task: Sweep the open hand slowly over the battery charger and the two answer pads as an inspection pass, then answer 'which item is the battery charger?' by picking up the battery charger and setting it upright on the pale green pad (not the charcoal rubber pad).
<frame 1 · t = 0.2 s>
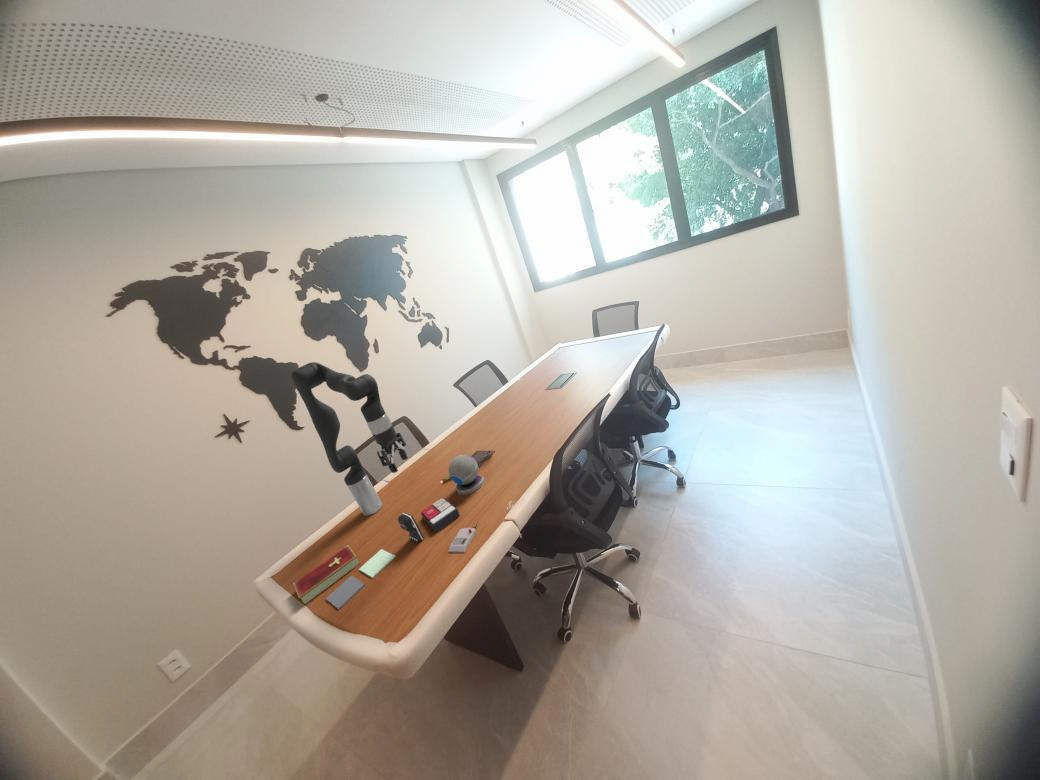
hand: (400, 465, 140), 28 cm above the table, fingers open, 8 cm apart
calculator: (441, 517, 152), on the table
pad A green: (377, 563, 138), on the table
pad B charcoal: (345, 592, 129), on the table
webcam: (470, 485, 167), on the table
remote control: (465, 540, 134), on the table
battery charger: (416, 540, 143), on the table
hardcover book: (330, 577, 140), on the table
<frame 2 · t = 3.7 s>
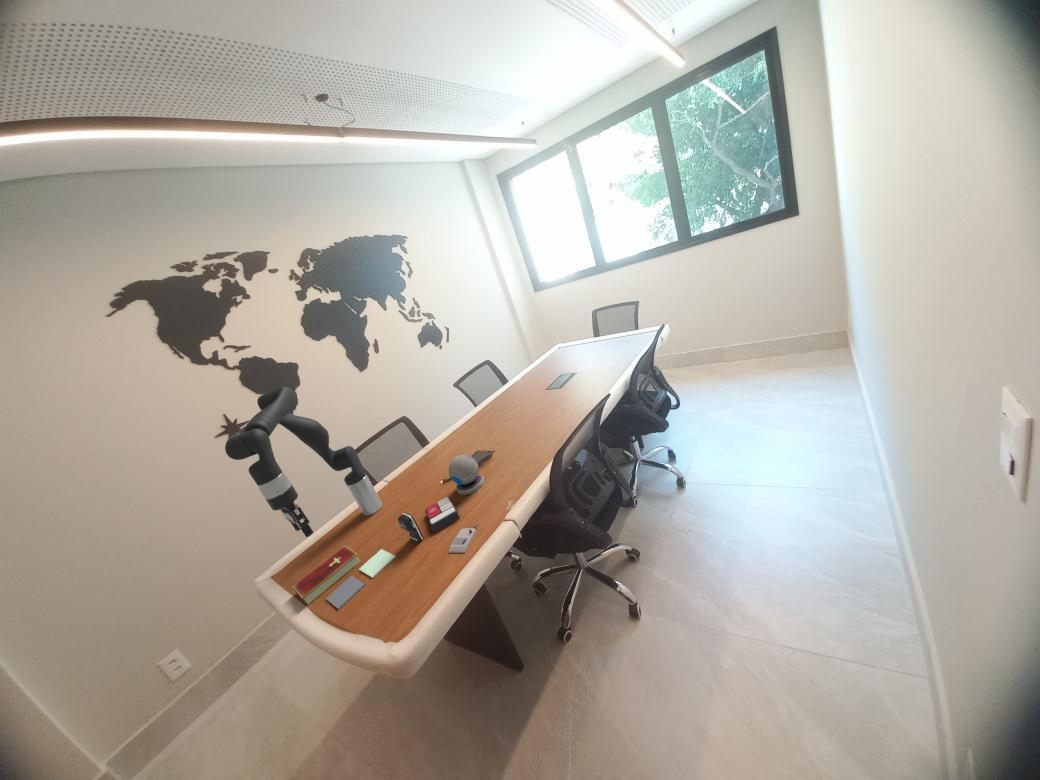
hand: (304, 531, 118), 28 cm above the table, fingers open, 8 cm apart
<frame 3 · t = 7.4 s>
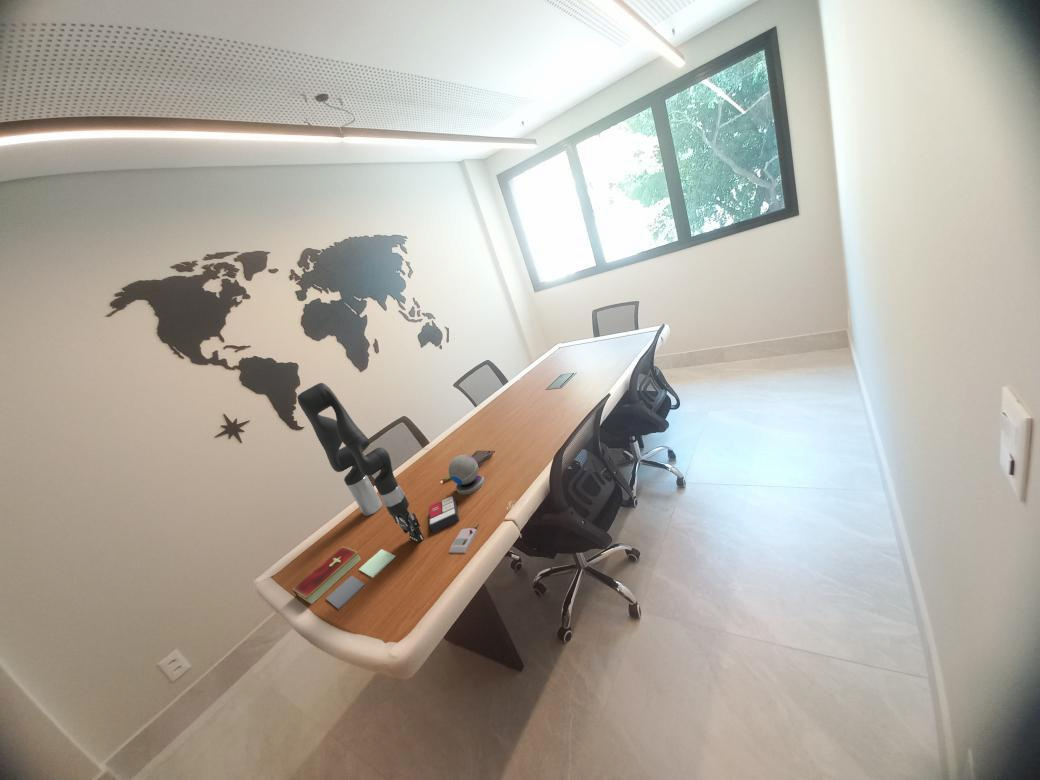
hand: (412, 533, 142), 3 cm above the table, fingers closed on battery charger, 7 cm apart
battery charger: (416, 540, 143), on the table, touching gripper
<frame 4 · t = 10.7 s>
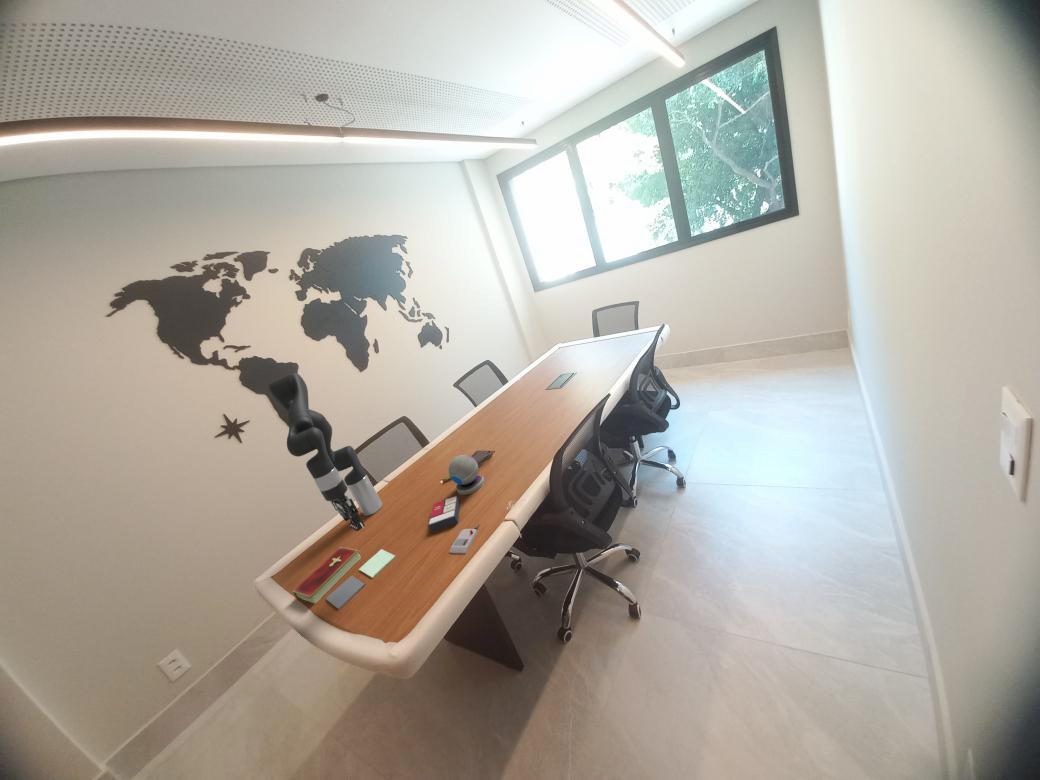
hand: (353, 521, 132), 20 cm above the table, fingers closed on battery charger, 7 cm apart
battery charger: (357, 528, 133), point 16 cm above the table, touching gripper
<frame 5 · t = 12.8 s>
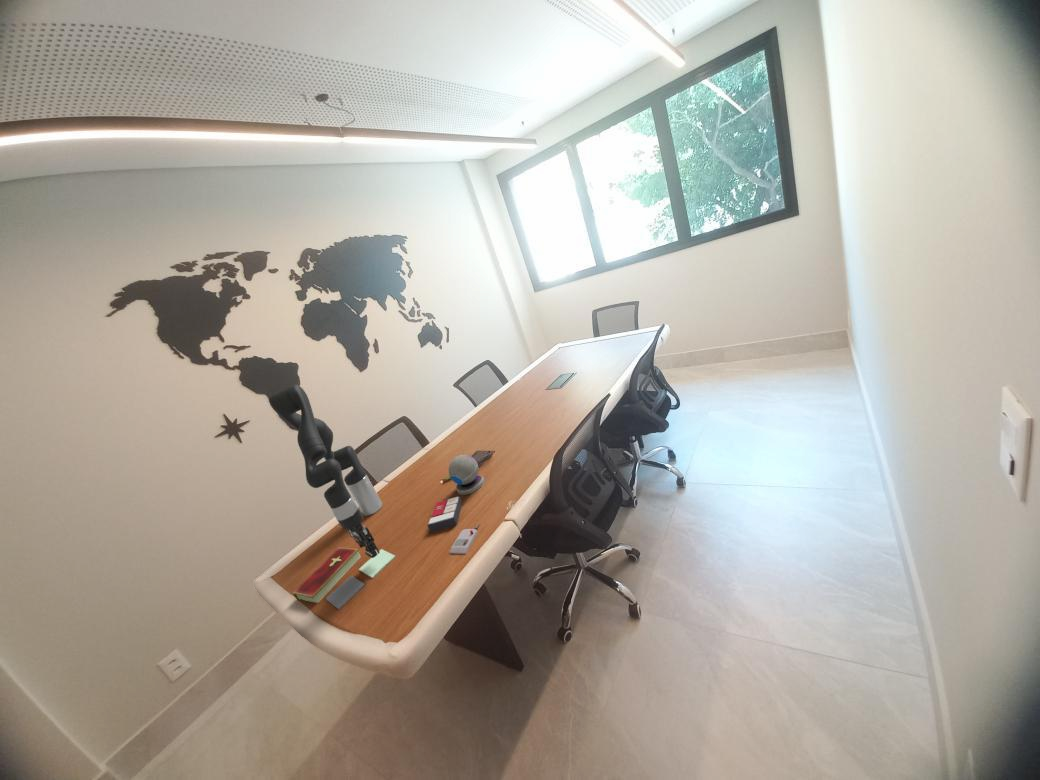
hand: (368, 548, 135), 7 cm above the table, fingers closed on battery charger, 7 cm apart
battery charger: (372, 554, 136), point 4 cm above the table, touching gripper
when the fingers open (4 cm above the table, at t = 14.2 s): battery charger stays where it is, resting on pad A green.
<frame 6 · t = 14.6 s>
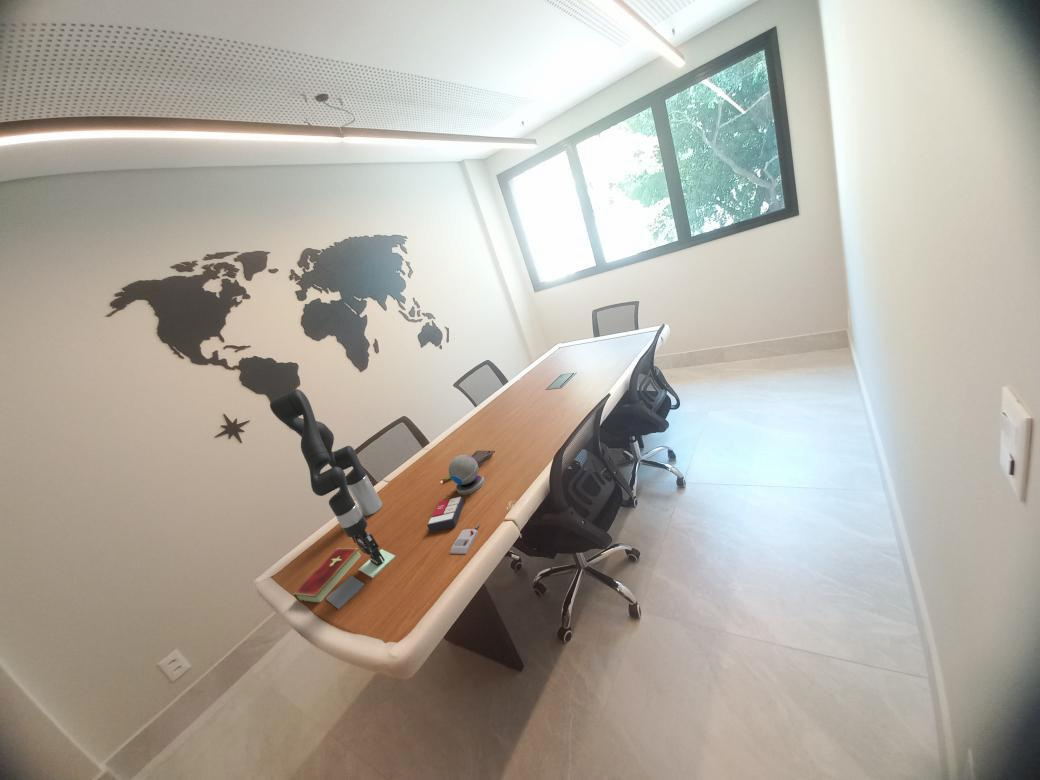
hand: (372, 554, 136), 4 cm above the table, fingers open, 8 cm apart
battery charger: (377, 562, 138), resting on pad A green
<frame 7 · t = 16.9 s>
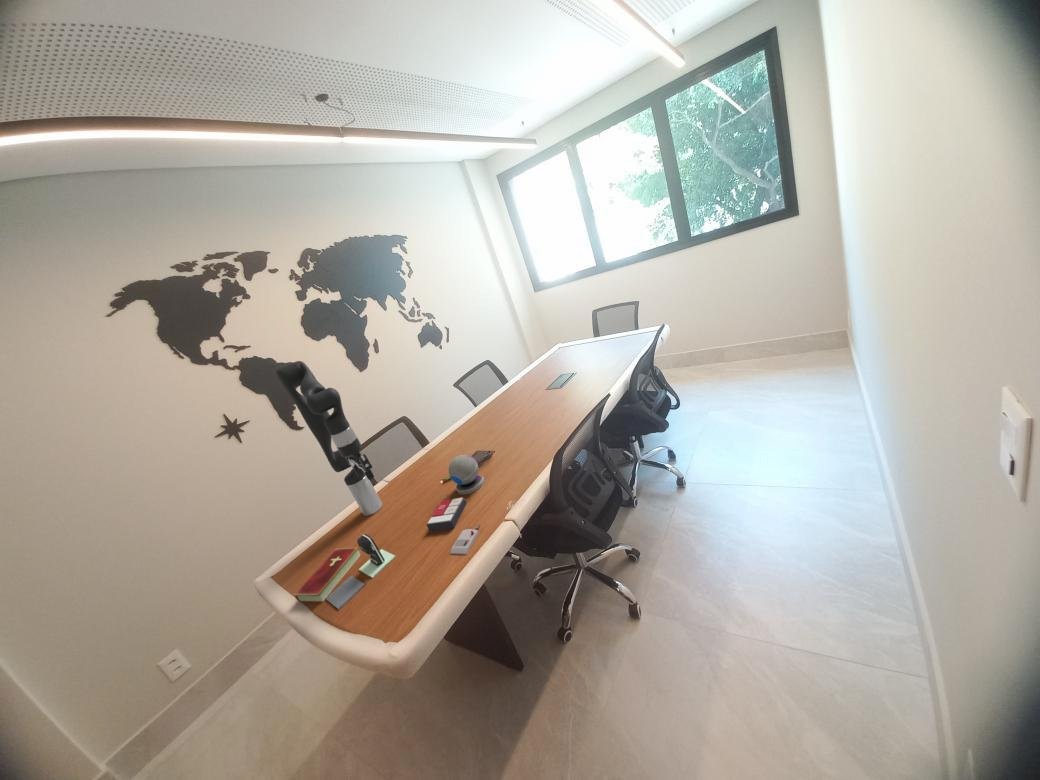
hand: (366, 476, 142), 28 cm above the table, fingers open, 8 cm apart
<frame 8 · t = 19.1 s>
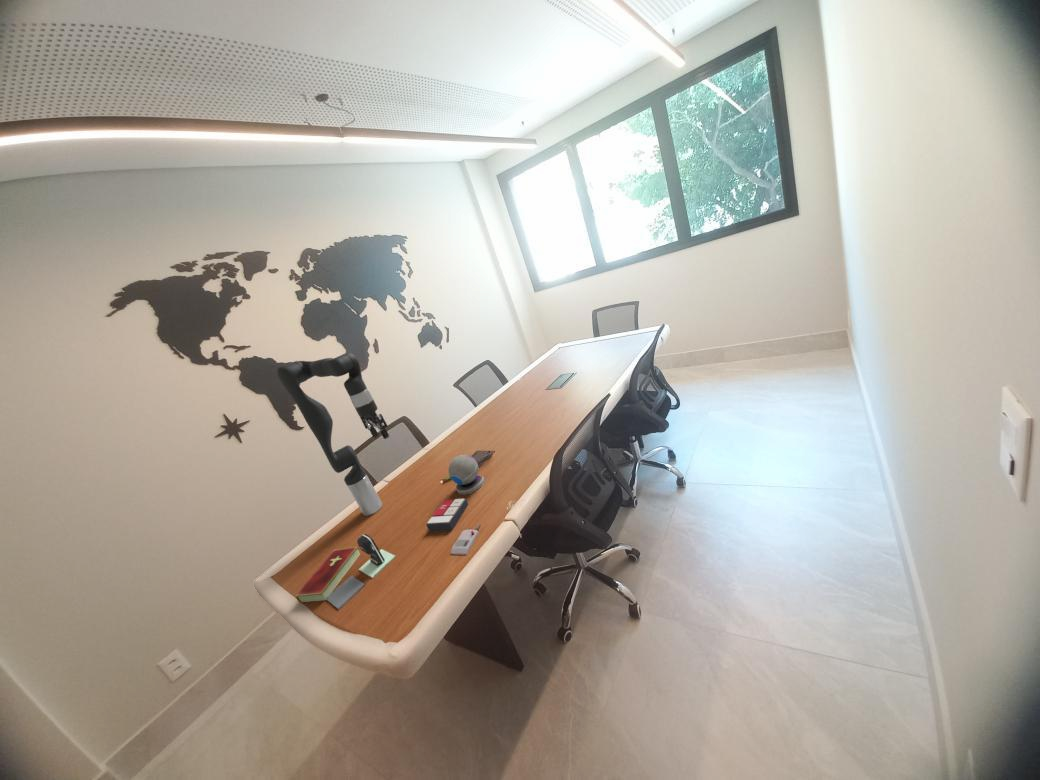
hand: (381, 437, 153), 36 cm above the table, fingers open, 8 cm apart
at the end: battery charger inside the target area on the pad A green (0.2 cm from its centre), point 0.3 cm above the pad A green's base; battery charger tilted 0°; the gripper is holding nothing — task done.
